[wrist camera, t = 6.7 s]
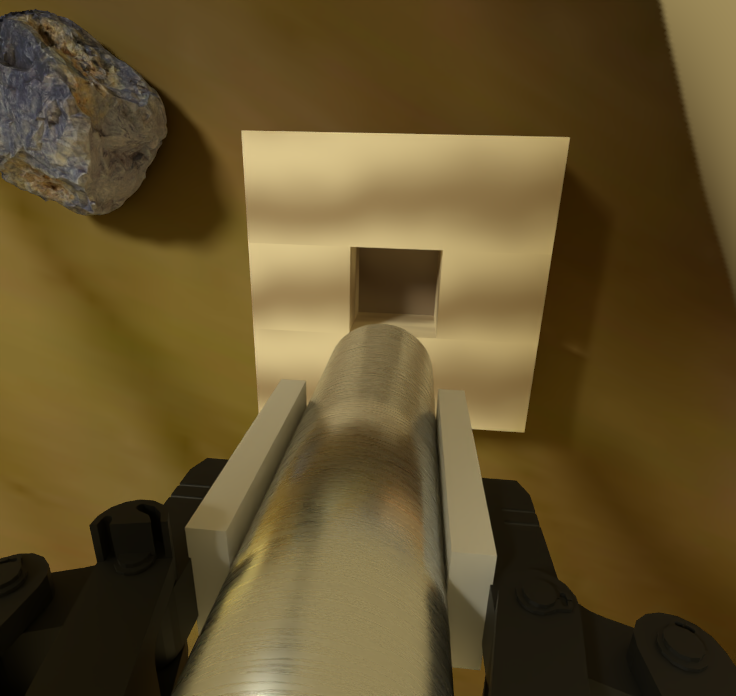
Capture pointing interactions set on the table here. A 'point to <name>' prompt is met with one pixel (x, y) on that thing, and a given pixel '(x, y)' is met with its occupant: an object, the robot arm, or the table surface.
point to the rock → (73, 115)
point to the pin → (342, 545)
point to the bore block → (404, 254)
